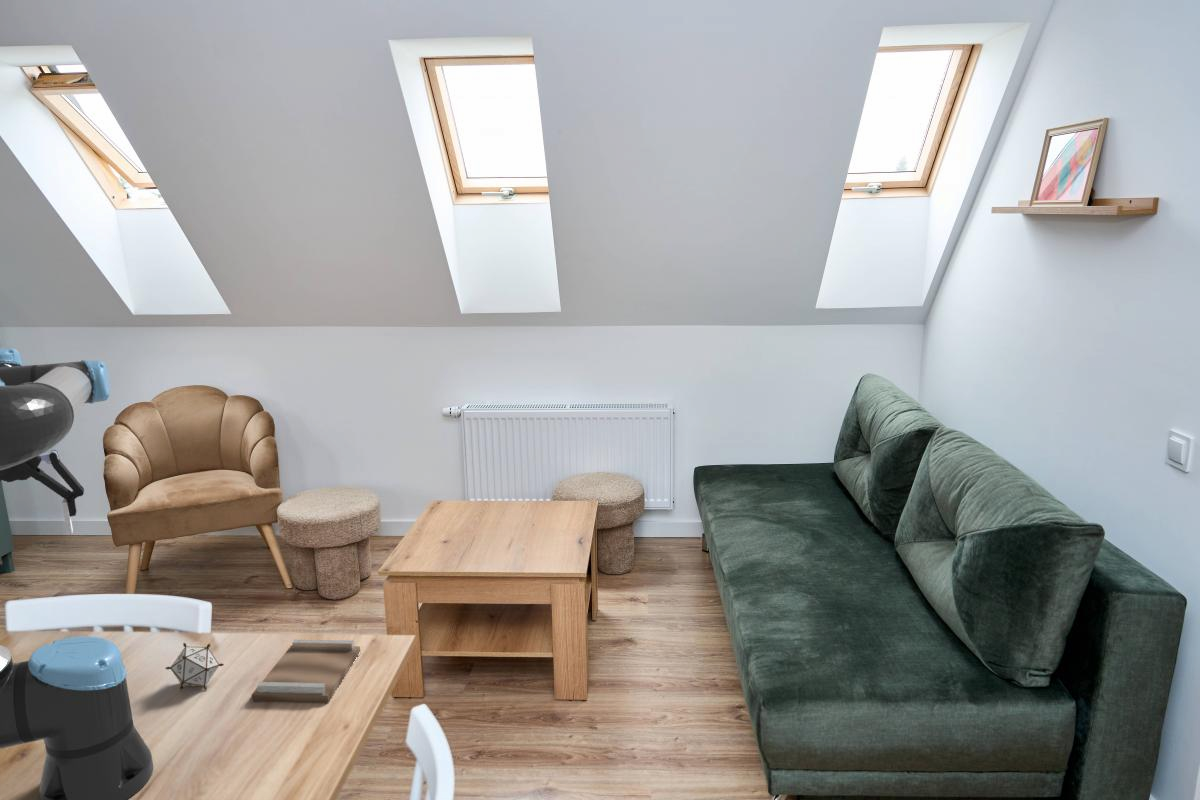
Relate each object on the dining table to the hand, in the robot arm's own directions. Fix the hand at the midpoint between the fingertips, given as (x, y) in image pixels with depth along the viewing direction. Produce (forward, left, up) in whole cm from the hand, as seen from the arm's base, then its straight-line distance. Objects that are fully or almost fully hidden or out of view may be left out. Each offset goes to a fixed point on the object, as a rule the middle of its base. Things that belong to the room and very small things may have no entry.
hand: (28, 539), depth 161 cm
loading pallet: (-30, -44, -26) cm, 60 cm away
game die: (-23, -25, -26) cm, 43 cm away
